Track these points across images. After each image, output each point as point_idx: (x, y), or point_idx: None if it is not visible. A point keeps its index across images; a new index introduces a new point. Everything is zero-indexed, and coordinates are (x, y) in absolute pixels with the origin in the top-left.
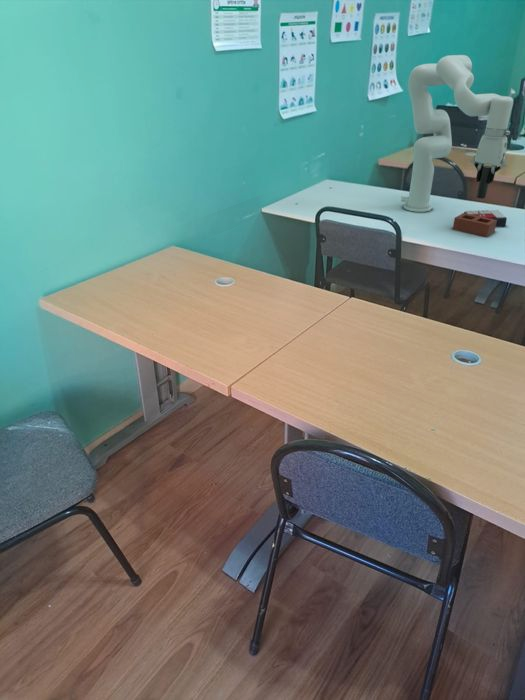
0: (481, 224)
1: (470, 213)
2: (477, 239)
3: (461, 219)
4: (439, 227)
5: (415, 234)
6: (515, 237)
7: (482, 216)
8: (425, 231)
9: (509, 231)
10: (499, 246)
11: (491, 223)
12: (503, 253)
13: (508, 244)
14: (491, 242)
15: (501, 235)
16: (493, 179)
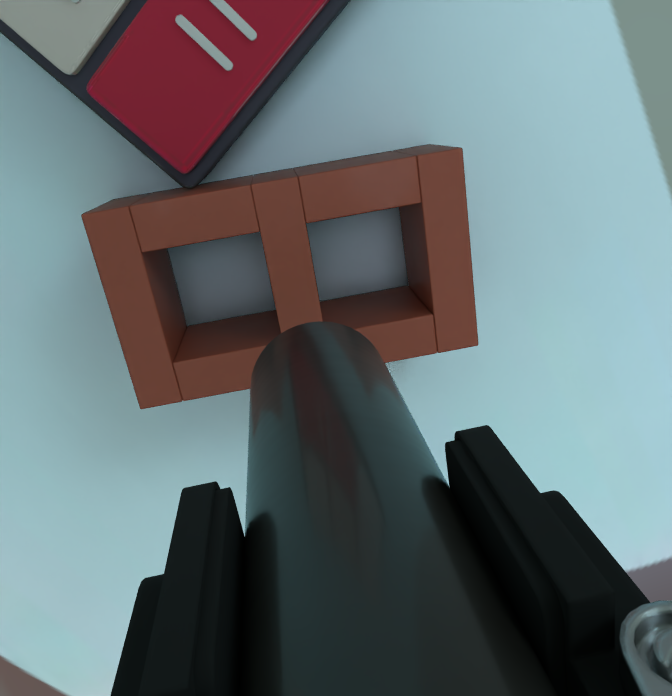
0: (404, 355)
1: (68, 38)
2: (424, 407)
3: (210, 394)
4: (64, 410)
5: (82, 642)
6: (617, 135)
7: (238, 56)
8: (74, 554)
9: (519, 16)
10: (597, 407)
11: (471, 293)
12: (661, 489)
13: (630, 326)
14: (525, 383)
15: (513, 182)
16: (564, 504)
